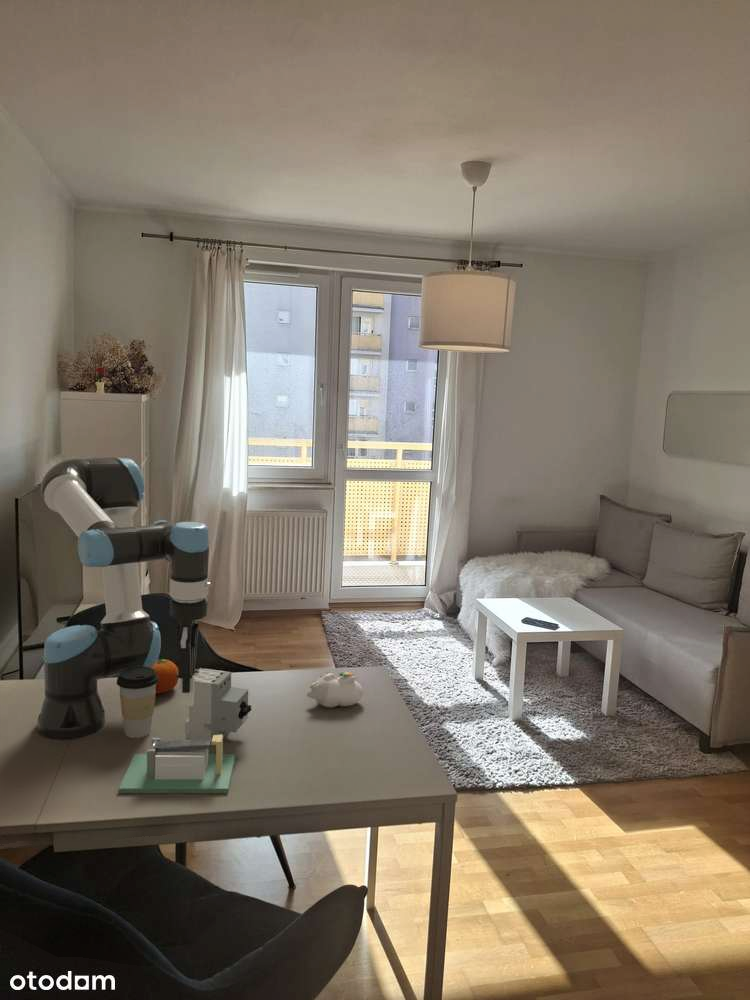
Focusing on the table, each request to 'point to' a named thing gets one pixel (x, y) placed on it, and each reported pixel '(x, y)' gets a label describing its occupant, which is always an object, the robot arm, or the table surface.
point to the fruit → (165, 675)
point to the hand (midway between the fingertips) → (186, 704)
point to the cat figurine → (336, 690)
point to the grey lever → (181, 744)
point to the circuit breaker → (215, 706)
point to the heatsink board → (177, 785)
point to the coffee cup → (137, 699)
